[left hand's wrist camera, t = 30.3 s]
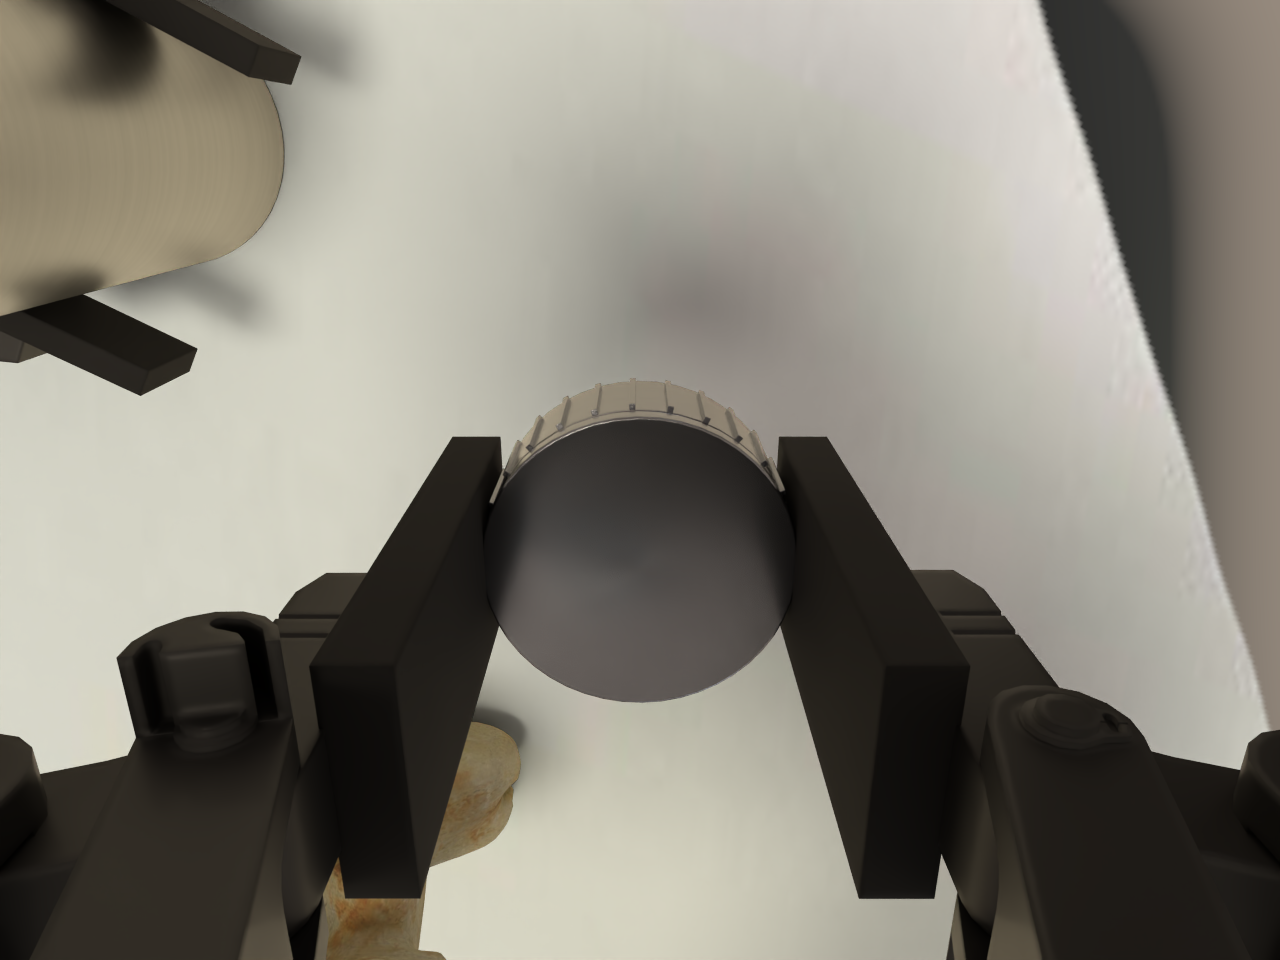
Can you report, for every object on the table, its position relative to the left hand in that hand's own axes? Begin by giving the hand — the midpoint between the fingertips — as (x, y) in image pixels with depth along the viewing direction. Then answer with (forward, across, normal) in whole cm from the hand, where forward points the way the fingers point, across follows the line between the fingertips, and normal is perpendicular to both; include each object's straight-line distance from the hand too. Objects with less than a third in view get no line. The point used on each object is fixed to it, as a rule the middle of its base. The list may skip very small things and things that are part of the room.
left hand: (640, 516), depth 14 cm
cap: (-2, 0, 0) cm, 2 cm away
